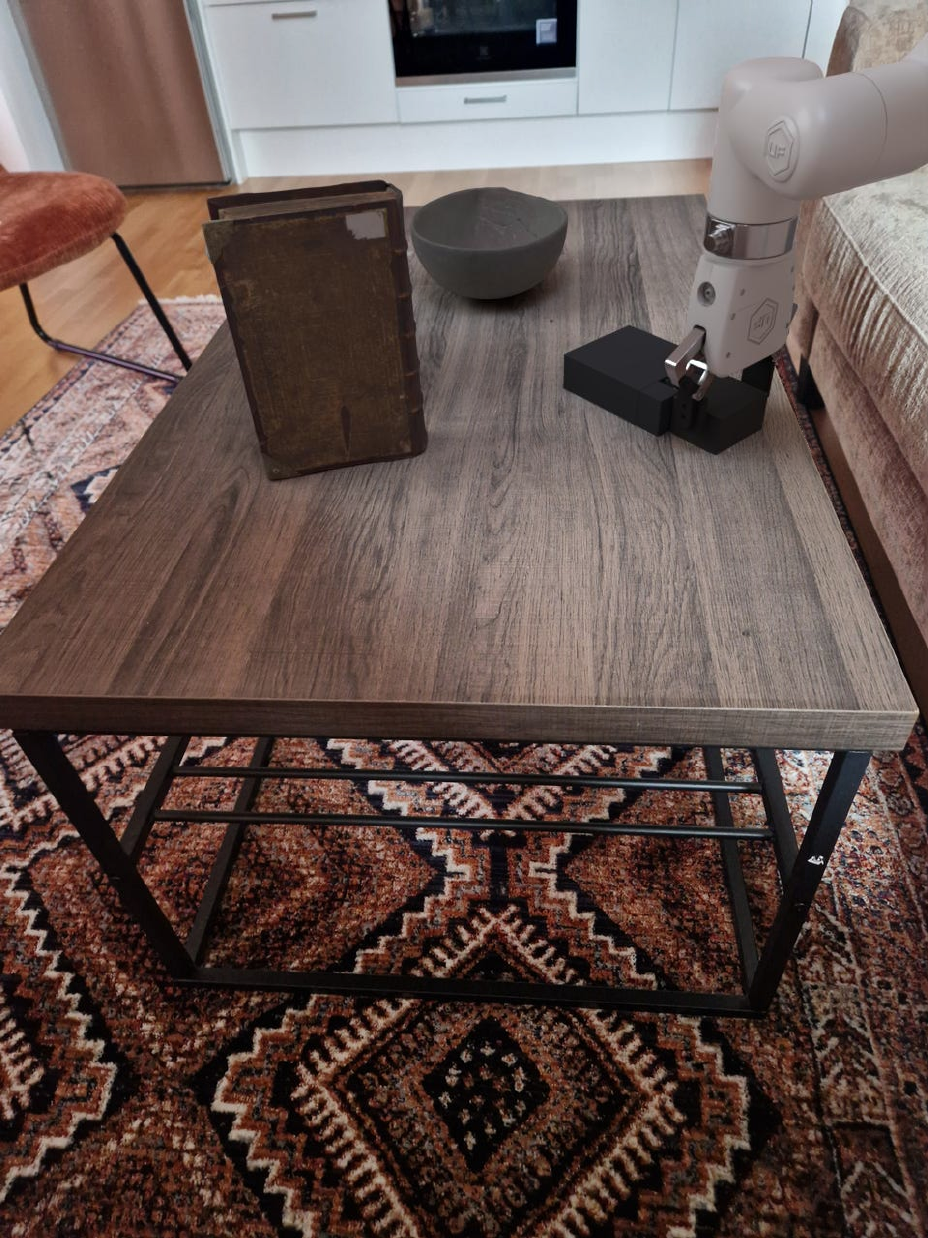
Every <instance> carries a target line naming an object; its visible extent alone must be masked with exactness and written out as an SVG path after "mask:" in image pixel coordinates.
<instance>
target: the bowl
mask: <svg viewBox="0 0 928 1238" xmlns="http://www.w3.org/2000/svg"><path fill="white" fill-rule="evenodd" d="M568 226H569V215H568V212H567V211H566V209H565V208H564V207H563V206H562V205H560V204H558V203H556V202H554V201H552V200H550V199H547V198H545V197H542V196H536V195H532V194H528V193H524V192H522V191H517V190H513V189H510V188H507V187H503V186H485V187H473V188H466V189H462V190H458V191H454V192H450V193H447V194H445V195H443V196H440V197H437V198H436V199H433V200H432V201H430V202H428V203H426V204H424V205H423V206H422V207H421V208H419V209H418V210H417V211H416V212H415V213H414V215H413V216H412V218H411V220H410V225H409V230H410V231H409V232H410V239H411V244H412V247H413V250H414V253H415V255H416V257H417V259H418V261H419V263H420V264H421V266H422V267H423V269H424V270H425V272H426V273H427V274H428V275H429V277H430V278H431V279H432V280H433V281H434V282H435V283H436V284H437V285H438V286H440V287H441V288H443V289H444V290H446V291H448V292H449V293H452V294H454V295H457V296H460V297H465V298H469V299H470V298H471V299H477V300H498V299H504V298H510V297H513V296H516V295H519V294H521V293H524V292H526V291H528V290H530V289H531V288H533V287H535V286H537V285H538V284H539V283H541V282H543V280H544V279H546V278H547V277H548V275H550V273H551V272H552V271H553V270H554V268H555V266H556V265H557V262H558V261H559V259H560V257H561V254H562V252H563V249H564V246H565V243H566V239H567V233H568V229H569V228H568Z"/></svg>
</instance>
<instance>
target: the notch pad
mask: <svg viewBox="0 0 928 1238" xmlns="http://www.w3.org/2000/svg"><path fill="white" fill-rule="evenodd" d="M679 345H680V344H676V343H674V342H672V341H669V340H668V339H665V338H663V337H660V336H658V335H655V334H653V333H650V332H648V331H647V330H643V329H641V328H639V327H637V326H634V325H633V324H632V325H631V324H627V325H625V326H623V327H620V328H618V329H616V330H614V331H612V332H609V333H607V334H605V335H603V336H601V337H599V338H596V339H594V340H592V341H589V342H587V343H585V344H582V345H581V346H579V347H577V348H574V349H572V350H569V351H568V352H566V353H563V376H562V377H563V379H562V388H563V389H565V390H567V391H569V392H570V393H572V394H574V395H577V396H579V397H580V398H582V399H584V400H586V401H588V402H590V403H592V404H593V405H595V406H598V407H599V408H601V409H604V410H605V411H607V412H609V413H611V414H613V415H615V416H616V417H619V418H621V419H622V420H624V421H627V422H629V423H631V424H632V425H634V426H637V427H639V428H640V429H642V430H644V431H647V432H648V433H650V434H652V435H654V436H656V437H659V436H661V435H664V434H665V433H667V432H669V429H670V421H671V412H672V403H673V396H675V395H677V394H678V392H677V391H675V390H674V388H672V387H670V386H668V385H666V384H665V380H666V379H668V378H669V377H668V375H667V372H666V369H665V365H664V364H665V361H666V359H667V358H668V357H669V356H670V355H671V354H672V353H673V351H674V350H675V349H676V348H677V347H678V346H679ZM700 361H702V362H704V363H706V364H707V362H706V358H704V359H702V360H700ZM694 373H696V374H698V375H701V376H702V374H703V373H704V372H703V371H701V370H699V369H696V370H695V371H694Z"/></svg>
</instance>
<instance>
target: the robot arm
mask: <svg viewBox="0 0 928 1238" xmlns="http://www.w3.org/2000/svg"><path fill="white" fill-rule="evenodd" d="M715 130H716V131H715V137H714V146H713V154H712V163H711V171H710V179H709V188H708V195H707V204H706V214H705V223H704V231H703V238H702V239H703V240H702V248H701V251H702V254H700V255H699V260H698V262H697V263H698V264H697V267H696V270H695V275H694V278H693V282H692V286H691V292H690V295H689V300H688V305H687V312H686V317H685V323H684V332H683V340H682V341H681V342H680V344H678V345H679V346H678V347H677V348H676V349H675V350H674V351H673V353H672V354H671V355H670V356H669V357H668V358H667V359H666V361H665V364H664V365H665V369H666V372H667V375H668V377H669V379H668V381H669V383H670V384H671V385H672V386H673V387H674V390H675V391H677V392H678V394H677V403H676V411H675V420H674V423H675V426H676V427H678V428H680V429H682V430H684V431H686V432H689V433H691V434H693V435H695V436H697V437H698V436H700V435H702V434H703V432H704V427H705V420H706V413H707V406H708V398H707V397H705V396H704V395H705V393H706V391H707V389H708V388H709V386H710V384H711V382H712V381H713V379H714V377H715V375H716V376H717V377H720V378H724V377H728V376H730V377H731V376H732V375H734V374H737V373H739V372H740V371H742V372H741V378H740V379H741V380H740V381H742V382H744V383H746V384H749V385H751V386H753V387H756V388H758V389H760V390H763V391H765V392H767V393H769V395H768V399H769V398H770V395H771V390H772V384H773V380H774V374H775V369H776V361H778V359H779V358H780V356H781V355H782V348H783V347H784V345H785V344H786V342H787V339H788V336H789V334H790V326H791V324H792V321H793V320H794V317H795V316H796V313H797V311H798V309H799V304H798V303H795V302H794V300H795V299H794V298H795V290H796V282H797V267H798V250H797V249H798V248H797V246H798V245H797V242H796V237H797V231H798V226H799V221H800V216H801V211H802V206H803V201H813V200H817V199H822V198H825V197H829V196H833V195H836V194H840V193H843V192H848V191H851V190H853V189H856V188H860V187H863V186H867V185H871V184H875V183H878V182H881V181H887V180H890V179H894V178H897V177H901V176H904V175H907V174H908V175H909V174H911V173H912V172H914V171H917V170H918V169H920V168H923V167H924V166H926V165H928V31H927V32H926V33H925V35H924V36H923V37H922V38H921V39H920V40H919V41H918V43H916V45H915V46H914V47H913V48H912V49H911V50H910V51H909V52H908V53H907V54H906V55H905V56H904V57H903V58H902V59H900V60H898V61H894V62H888V63H883V64H879V65H874V66H870V67H866V68H862V69H857V70H852V71H848V72H844V73H840V74H836V75H829V76H825V77H824V73H823V71H822V68H821V66H819V65H818V64H817V63H816V62H814V61H812V60H810V59H806V58H802V57H795V56H764V57H756V58H750V59H747V60H744V61H742V62H739V63H737V64H735V65H734V66H733V67H732V68H730V69H729V70H728V72H727V73H726V75H725V77H724V78H723V81H722V84H721V89H720V96H719V102H718V112H717V120H716V127H715ZM704 358H706V362H707V364H706V363H704V362H702V361H700V360H702V359H704ZM696 369H699V370H701V371H703V372H704V373H703V374H702V376H701V378H700V380H699V381H698V383H697V384H696V383H695V382H694V381H693V380H692V379H691V377H692V375H693V373H694V371H695V370H696Z"/></svg>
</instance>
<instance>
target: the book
mask: <svg viewBox="0 0 928 1238" xmlns="http://www.w3.org/2000/svg"><path fill="white" fill-rule="evenodd" d="M206 207H207V211H208V215H209V219H210V220H206V221H203V222H201V228H202V234H203V238H204V242H205V247H206V246H207V250H208V254H209V257H210V260H209V262H210V264H211V265H212V264H213V265H212V267H213V266H214V268H213V270H215V271H214V273H215V278H216V282H217V286H218V290H219V293H220V296H221V301H222V304H223V308H224V313H225V316H226V320H227V323H228V327H229V333H230V336H231V340H232V342H233V347H234V350H235V354H236V358H237V361H238V365H239V366H238V367H239V369H240V374H241V377H242V382H243V385H244V390H245V394H246V398H247V402H248V406H249V409H250V414H251V417H252V422H253V425H254V426H253V427H254V429H255V430H254V431H255V433H256V438H257V440H258V444H259V451H260V455H261V460H262V463H263V467H264V471H265V475H266V478H267V480H270V481H271V480H281V479H288V478H295V477H299V476H302V475H309V474H311V473H316V472H322V471H327V470H328V471H329V470H333V469H338V468H341V467H342V468H343V467H348V466H349V467H350V466H355V465H361V464H366V463H373V462H391V461H398V460H405V459H409V458H414V457H416V455H417V454H419V453H422V452H423V451H424V450H425V448H426V447H427V445H428V443H427V442H428V438H429V436H428V435H429V434H428V431H427V428H426V422H425V415H424V413H425V412H424V403H425V402H424V393H423V391H422V387H421V375H420V368H421V360H420V359H419V355H418V347H417V336H416V332H417V322H416V320H415V315H414V306H413V295H412V294H413V284H412V282H411V276H410V267H409V258H408V249H409V244H408V239H407V238H406V226H405V213H404V212H405V211H404V194H403V191H402V189H399V188H398V187H397V186H395V184H393V183H391V182H386V181H385V180H383V179H370V180H369V179H368V180H361V181H353V182H352V181H351V182H342V183H337V184H332V185H331V184H330V185H323V186H311V187H309V186H308V187H301V188H293V189H292V188H291V189H282V190H276V191H275V190H273V191H263V192H238V193H237V192H236V193H230V194H229V193H228V194H223V195H215V196H211V197H206Z"/></svg>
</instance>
